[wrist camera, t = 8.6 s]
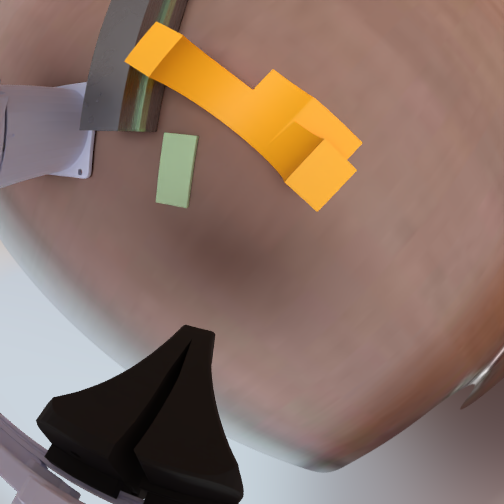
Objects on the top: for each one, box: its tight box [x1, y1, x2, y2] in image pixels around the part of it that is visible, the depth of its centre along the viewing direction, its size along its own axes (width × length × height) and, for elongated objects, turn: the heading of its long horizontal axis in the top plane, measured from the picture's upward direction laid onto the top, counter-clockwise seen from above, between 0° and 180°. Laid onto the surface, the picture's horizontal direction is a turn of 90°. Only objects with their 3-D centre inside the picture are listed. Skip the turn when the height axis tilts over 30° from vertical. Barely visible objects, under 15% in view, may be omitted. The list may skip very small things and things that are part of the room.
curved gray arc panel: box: [79, 0, 188, 132], centre depth 12 cm, size 3×14×5 cm, turn 169°
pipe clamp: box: [124, 21, 362, 212], centre depth 13 cm, size 12×4×6 cm, turn 50°
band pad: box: [156, 133, 199, 208], centre depth 18 cm, size 2×5×1 cm, turn 169°
